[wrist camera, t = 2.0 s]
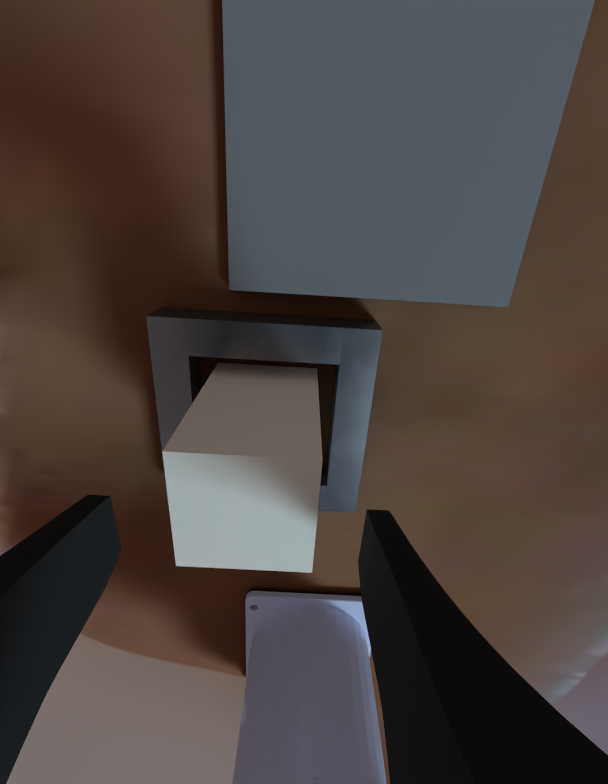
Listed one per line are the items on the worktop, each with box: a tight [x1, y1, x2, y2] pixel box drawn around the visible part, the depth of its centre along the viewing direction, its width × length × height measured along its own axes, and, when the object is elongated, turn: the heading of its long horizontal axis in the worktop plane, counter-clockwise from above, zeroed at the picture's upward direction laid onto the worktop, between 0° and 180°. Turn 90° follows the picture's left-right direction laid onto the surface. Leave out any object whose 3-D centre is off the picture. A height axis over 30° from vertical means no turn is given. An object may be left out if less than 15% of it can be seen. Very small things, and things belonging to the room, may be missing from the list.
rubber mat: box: [222, 0, 595, 307], centre depth 13 cm, size 11×11×1 cm
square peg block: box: [162, 363, 323, 573], centre depth 14 cm, size 4×4×7 cm
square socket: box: [146, 308, 382, 512], centre depth 17 cm, size 9×9×2 cm
